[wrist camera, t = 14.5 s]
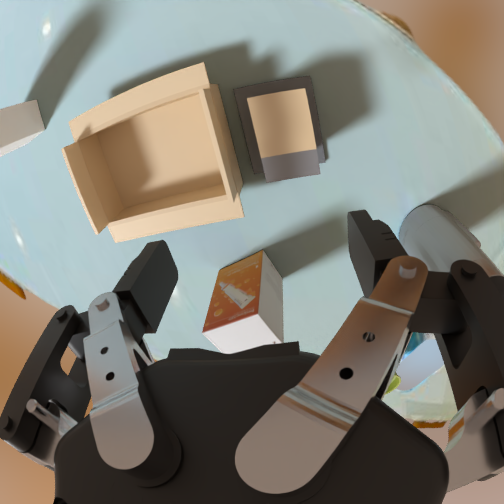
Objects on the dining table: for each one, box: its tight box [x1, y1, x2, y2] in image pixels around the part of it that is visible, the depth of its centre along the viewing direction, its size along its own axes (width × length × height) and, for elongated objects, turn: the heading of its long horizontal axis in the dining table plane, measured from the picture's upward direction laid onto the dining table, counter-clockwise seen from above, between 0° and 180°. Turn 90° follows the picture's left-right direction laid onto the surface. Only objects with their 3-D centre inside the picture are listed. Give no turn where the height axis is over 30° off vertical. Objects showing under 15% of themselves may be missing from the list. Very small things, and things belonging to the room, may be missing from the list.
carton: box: [61, 62, 244, 243], centre depth 30 cm, size 19×18×8 cm
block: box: [247, 88, 320, 183], centre depth 26 cm, size 5×8×9 cm, turn 13°
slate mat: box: [233, 76, 325, 174], centre depth 30 cm, size 9×11×1 cm
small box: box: [202, 250, 284, 354], centre depth 37 cm, size 8×6×13 cm
